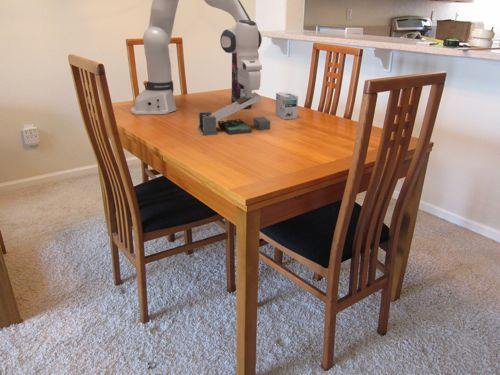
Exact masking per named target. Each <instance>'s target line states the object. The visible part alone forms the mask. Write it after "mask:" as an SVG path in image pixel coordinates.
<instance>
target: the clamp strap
mask: <svg viewBox="0 0 500 375" xmlns="http://www.w3.org/2000/svg"><path fill="white" fill-rule="evenodd" d="M260 100H262V98H261V95H260V94H258V93H257V92H256V91H255V92H253V93H251V98H247V97H245V96H243V97H241V98H239V99H237V100H236V102H234V103H233V102H231V104H228V105H226V106H224V107H222V108H220V109H218V110H216V111H214V112H211V114H210V115H208V116H206V117H212V116H215V117H216V123H218V121H222V119H225V118H227V117H229V116H230V115H233V114H234V113H236V112H238V111H241V110H243V109H246V108H245V107H247V106H249V105H251V106H252V105H253V104H254V103H257V102H259V101H260Z"/></svg>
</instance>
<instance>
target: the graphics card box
mask: <svg viewBox="0 0 500 375" xmlns="http://www.w3.org/2000/svg"><path fill="white" fill-rule="evenodd" d="M237 75H238V68H237V53H231V103H234V102H236V100H237V99H239V98H241V97H243V96H245V90H244V86H243V85H242V84H240V83H238V79H237ZM245 97H246V96H245ZM251 108H252V104H251V105H249V106H247V107H245V108H244V109H251Z"/></svg>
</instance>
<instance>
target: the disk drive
mask: <svg viewBox="0 0 500 375" xmlns="http://www.w3.org/2000/svg"><path fill="white" fill-rule="evenodd" d="M217 126H218V127H219V128H220V129H221V130H222V131H224V132H225V133H226V134H227V135H228V136H232V135H233V136H234V135H242V134H243V135H244V134H252V130H253V129H252V127H251V126H250V125H249V124H247V123H246V122H244V121H243V120H242V119H240V118H239V119H227V120H226V121H224V120H219V121H217Z"/></svg>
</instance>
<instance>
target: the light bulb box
mask: <svg viewBox="0 0 500 375" xmlns="http://www.w3.org/2000/svg"><path fill="white" fill-rule="evenodd" d="M298 102H299V96H298V95H295V94H293V93H291V92H288V91H286V92H285V91H283V92H281V91H280V92H275V115H276V116H278V117H279V118H282V119H283V120H295V119H298V108H299V107H298V104H299V103H298Z"/></svg>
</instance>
